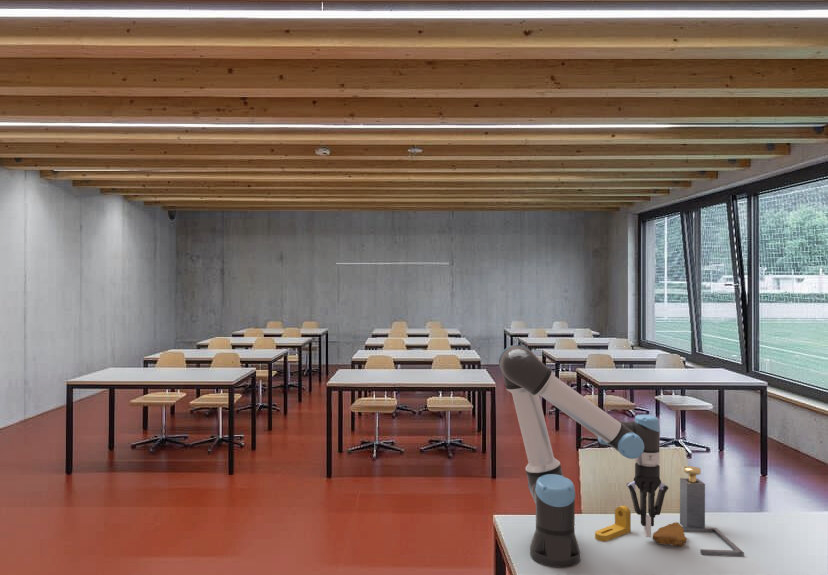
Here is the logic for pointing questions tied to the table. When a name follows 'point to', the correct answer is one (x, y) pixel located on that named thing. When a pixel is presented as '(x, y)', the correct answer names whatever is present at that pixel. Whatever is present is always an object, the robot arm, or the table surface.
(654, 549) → the table surface
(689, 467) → the pin
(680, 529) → the artifact
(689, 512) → the press
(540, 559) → the robot arm
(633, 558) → the table surface
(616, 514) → the bracket
